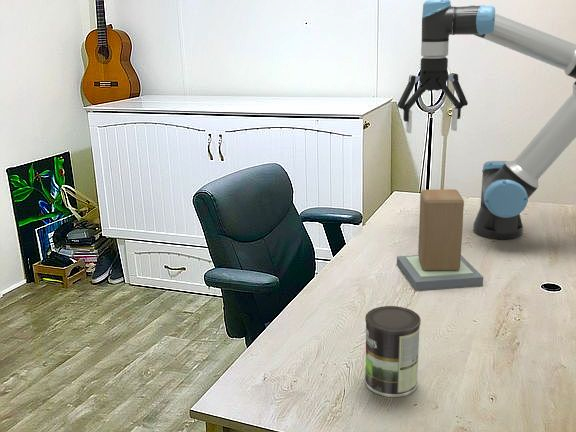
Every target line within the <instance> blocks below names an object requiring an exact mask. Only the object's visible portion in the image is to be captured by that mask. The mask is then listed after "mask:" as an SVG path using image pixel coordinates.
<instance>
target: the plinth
mask: <svg viewBox="0 0 576 432" xmlns="http://www.w3.org/2000/svg"><path fill="white" fill-rule="evenodd" d="M396 266H397V267H398V269H399V270H400V271H401V273H402V274H403V276H404V277H405V278H406V279H407V282H409V284H410V285H411V287H412V288H413V290H414V291H415V292H419V291H432V290H433V291H435V290H442V289H445V290H446V289H448V290H449V289H457V288H458V289H461V288H471V287H483V286H484V276H483V275H482V274H481V273H480V272H479V271H478V270H477V269H476V268H475V266H473V265H472V264H471V263H470V262H469V261H468V260H467V259H466V258H465V257H464V256H463V255H462V254H461V261H460V268H459V270H423V269H422V266H421V263H420V260H419V256H418V254H411V255H399V256H398V255H397V256H396Z"/></svg>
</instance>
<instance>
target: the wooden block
mask: <svg viewBox="0 0 576 432" xmlns="http://www.w3.org/2000/svg"><path fill="white" fill-rule="evenodd" d="M419 194H420V196H419V198H420V201H419V224H418V226H419V227H418V248H417V249H418V251H417V252H418V254H417V255H418V256H419V260H420V263H421V266H422V269H423V270H459V268H460V261H461V255H462V243H463V242H462V241H463V224H464V210H465V209H464V208H465V207H464V206H465V205H464V204H465V200H464V198H463V197H462V195H461V194H460V192H459V191H458V190H457V189H448V188H447V189H422V190H421V191H420V193H419Z"/></svg>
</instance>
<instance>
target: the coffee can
mask: <svg viewBox="0 0 576 432" xmlns="http://www.w3.org/2000/svg"><path fill="white" fill-rule="evenodd" d="M364 321H365V369H364V370H365V375H364V376H365V377H364V384H365V386H366V387H367V388H368V390H369V391H371V392H372V393H374V394H376V395H379V396H382V397H387V398H401V397H405V396H409V395H410V394H412V393H413V392H415V391H416V389H417V388H418V386H419V385H418V374H419V372H418V370H419V369H418V368H419V351H420V350H419V348H420V328H421V327H420V326H421V321H422V320H421V317H420V315H419V314H418V313H417V312H415V311H414V310H412V309H409V308H407V307H404V306H398V305H397V306H396V305H384V306H383V305H382V306H379V307H375V308H372V309H370V310H369V311H368V312H367V313H366V314H365V320H364Z"/></svg>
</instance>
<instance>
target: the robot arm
mask: <svg viewBox="0 0 576 432" xmlns="http://www.w3.org/2000/svg"><path fill="white" fill-rule="evenodd" d="M421 14H422V17H421V47H420V48H421V49H420V55H421V59H420V73H419V75H413V74H410V75H409V77H408V83H407V85H406V86H405V89H404V91H403V93H402V94H401V97H400V99H399V100H398V102H397V105H396V106H397V108H398V109H400V110H403V116H402V117H403V119H402V120H403V121H404V122H406V124H405V125H406V129H405V130H406V131H405V132H406V133H408V134H412V125H413V124H412V122H413V110H411V108H412V107H413V106H414V104H416V102H417V101H418V100H419V98H420V97H421V96H422V95H423V94H424V93H425V92H426V91H429V92H431V91H440V90H441V91H442V92H443V93H444V95H446V97H447V98H448V99H449V101H450V102H451V103H452V105H453V106H454V107H451V122H450V123H451V125H450V130H451V131H453V132H457V129H458V120H460V119H461V114H462V113H461V111H462V109H463V107H467V106H468V103H469V102H468V100H467V98H466V95H465V93H464V92H463V89H462V87H461V84H460V82H459V75H458V74H457V73H455V72H452V73H451V74H448V66H449V64H448V63H449V59H448V57H447V56H449V42H450V41H449V40H450V39H449V38H450V35H452V36H455V35H465V36H466V35H473V36H476V37H478V38H481V39H484V40H486V41H489V42H492V43H494V44H497V45H499V46H502V47H504V48H507V49H509V50H512V51H514V52H517V53H520V54H522V55H525V56H527V57H530V58H532V59H534V60H538V61H541V62H543V63H545V64H547V65H550V66H552V67H555V68H558V69H560V70H563V71H564V73H565V76H568V77H571V78H573V79H575V82H573V84H572V94H570V96H569V97H568V98H567V99H566V100H565V101H564V102H563V104H562V105H561V106H560V107H559V108H558V109H557V111H556V112H555V113H554V114H553V115H552V117H550V119H548V121H547V122H546V124H545V125H543V127H542V128H541V129H540V130H539V132H537V134H536V135H535V136H534V137H533V138H532V139H531V141H530V142H529V143H528V144H527V145H526V147H525V148H524V149H523V150H522V151H521V152H520V153H519V154H518V155H517V157H516V158H515V159H514V160H512V161H510V160H509V161H508V160H489V161H485V162H484V163H483V166H482V170H481V171H482V179H481V191H480V192H481V193H480V207H479V210H478V211H477V214H476V217H475V218H474V219H475V220H474V221H473V227H472V229H473V233H475V234H476V235H478V236H481V237H483V238H488V239H495V240H513V239H516V238H517V239H518V238H519V237H521V236H522V235H523V234H524V233H523V232H524V230H523V229H524V225H523V221H522V217H521V213H522V212H523V211H524V210H525V209H526V207H527V204H528V202H529V199H530V197H532V195H533V194H534V193H535V192H536V190H537V189H539V179H540V178H541V177H542V176H543V175H544V174H545V172H547V170H548V169H550V167H551V166H552V165H553V164H554V162H555V161H557V159H558V158H559V157H560V156H561V155H562V154H563V152H565V150H566V149H567V148H569V146H570V145H571V144H572V143H573V141H575V140H576V44H575V43H574V42H572V41H571V42H570V41H569V40H566V39H563V38H560V37H557V36H556V35H553V34H550V33H547V32H544V31H542V30H539V29H536V28H535V27H532V26H529V25H526V24H523V23H521V22H519V21H516V20H513V19H511V18H508V17H505V16H502V15H501V14H498V13H496V8H495V6H494V5H483V4H482V5H468V6H454V5H452V3H451V0H425V1H424V3H423V4H422V13H421ZM448 80H449V81H450V82H451V84H452V87H453V88H454V91H455V93H456V96H457V98H456V97H455V95H454V94H453V92H452V91H451V90H450V89H449V87H448V86H447V84H446V83H447V82H448ZM417 82H419V83H420V85H419V86H418V87H417V89H416V90H415V92H414V93H413V94H412V95H411V93H412V91H413V89H414V86H415V84H417ZM410 95H411V97H410ZM409 97H410V98H409Z"/></svg>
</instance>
